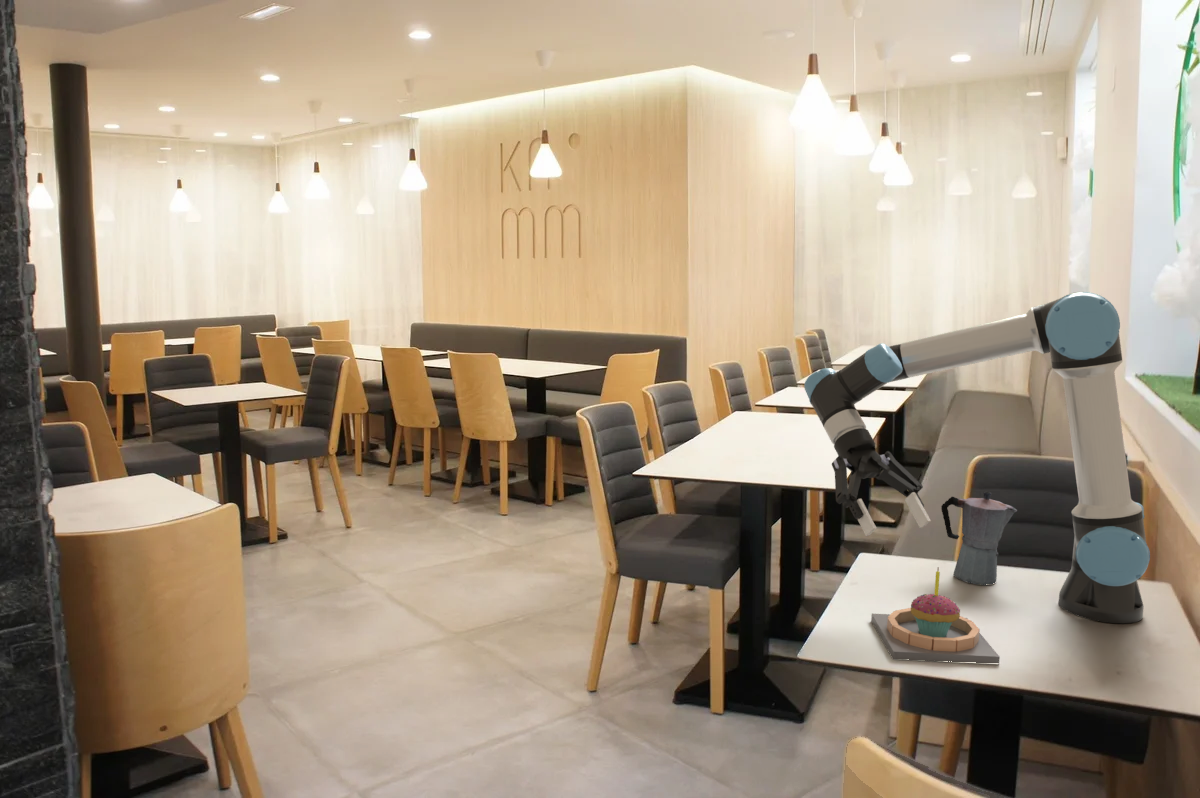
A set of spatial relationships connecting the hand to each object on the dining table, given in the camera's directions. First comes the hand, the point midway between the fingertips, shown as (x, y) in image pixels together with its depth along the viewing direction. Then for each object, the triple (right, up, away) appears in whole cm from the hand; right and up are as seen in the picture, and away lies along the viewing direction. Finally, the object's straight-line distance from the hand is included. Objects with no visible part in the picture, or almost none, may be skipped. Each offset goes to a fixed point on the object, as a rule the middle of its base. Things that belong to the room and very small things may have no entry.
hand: (899, 528), depth 180 cm
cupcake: (+4, -18, -7) cm, 20 cm away
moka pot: (+25, -15, +28) cm, 41 cm away
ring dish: (+4, -20, -7) cm, 21 cm away
